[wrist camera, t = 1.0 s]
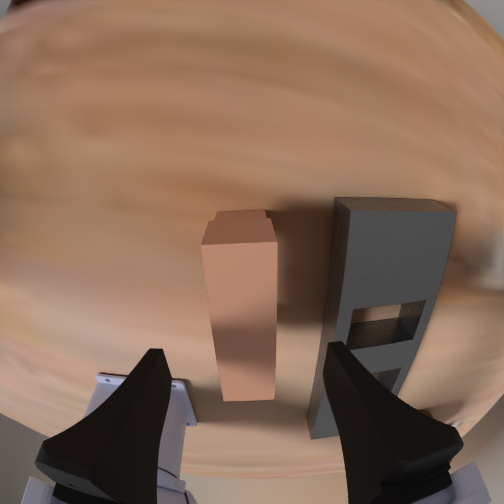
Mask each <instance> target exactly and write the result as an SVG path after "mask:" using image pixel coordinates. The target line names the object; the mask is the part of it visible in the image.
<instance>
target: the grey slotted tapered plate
mask: <svg viewBox="0 0 504 504" xmlns="http://www.w3.org/2000/svg"><path fill="white" fill-rule="evenodd" d="M456 214H457V212H455V211H454V210H452V209H450V208H448V207H446V206H444V205H442V204H440V203H438V202H436V201H434V200H429V199H406V198H368V197H335V201H334V218H333V233H332V246H331V257H330V268H329V278H328V287H327V296H326V304H325V312H324V320H323V327H322V334H321V341H320V348H319V354H318V360H317V366H316V372H315V378H314V383H313V389H312V394H311V399H310V404H309V409H308V414H307V422H308V427H309V432H310V438H311V440H312V439H319V438H326V437H332V436H338V435H339V432H338V429H337V426H336V422H335V419H334V416H333V413H332V410H331V407H330V404H329V400H328V397H327V394H326V390H325V385H324V379H323V374H322V373H323V368H324V362H325V357H326V352H327V346H328V342H336V341H342V342H343V343H344V344H345V345H346V347H347V348H348V349H349V350H350V351H351V352H352V354H353V355H354V356H355V357H356V358H357V359H358V360H359V361H360V363H361V364H362V365H363V366H364V367H365V368H366V369H367V370H368V371H369V372H370V373H373V374H372V375H373V376H374V377H375V378H376V379H377V380H378V381H379V382H380V383H381V384H382V385H384V386H385V387H386V388H387V389H388V390H389V391H391V392H392V393H393V394H394V395H396V396H397V394H398V392H399V390H400V388H401V386H402V384H403V382H404V380H405V378H406V376H407V373H408V371H409V369H410V367H411V365H412V362H413V360H414V358H415V355H416V353H417V350H418V348H419V345H420V343H421V340H422V338H423V335H424V333H425V330H426V327H427V324H428V322H429V319H430V316H431V313H432V310H433V307H434V304H435V301H436V298H437V294H438V291H439V288H440V284H441V281H442V277H443V273H444V270H445V266H446V262H447V258H448V254H449V249H450V245H451V240H452V235H453V230H454V225H455V220H456ZM401 303H402V306H401V310H400V313H399V317H398V318H393V319H386V320H379V321H372V322H364V323H356V324H351V319H352V313H353V309H360V308H369V307H377V306H385V305H393V304H401ZM376 372H378V373H376Z"/></svg>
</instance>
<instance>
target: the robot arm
mask: <svg viewBox="0 0 504 504" xmlns="http://www.w3.org/2000/svg"><path fill="white" fill-rule="evenodd" d="M322 374H323V379H324V385H325V390H326V394H327V397H328V400H329V404H330V407H331V410H332V413H333V416H334V419H335V422H336V426H337V429H338V432H339V436H340V440H341V445H342V451H343V457H344V463H345V470H346V478H347V488H348V502H349V504H488V503H490V502H491V498H490V495H489V493H488V490H487V488H486V485H485V483H484V481H483V478H482V476H481V474H480V471H479V469H478V467H477V465H476V462H472V463H470V464H469V465H467V466H465V467H463V468H461V469H459V470H457V471H455V472H454V473H452V474H451V475H450V474H449V472H448V470H449V469H450V468H451V466H450V464H449V461H450V460H451V459H452V458H453V457H454V456H455V455H456V454H457V453H458V452H459V451H460V450H461V449H462V447H463V445H464V444H463V441H462V439H461V437H460V435H459V433H458V431H457V429H456V428H455V427H453V426H450V425H447V424H445V423H442V422H440V421H437V420H435V419H433V418H431V417H429V416H427V415H425V414H423V413H421V412H420V411H418V410H416V409H415V408H413V407H411V406H410V405H408V404H407V403H405V402H404V401H402V400H401V399H400V398H398V397H397V396H396V395H394V394H393V393H392V392H391V391H389V390H388V389H387V388H386V387H385V386H384V385H382V384H381V383H380V382H379V381H378V380H377V379H376V378H375V377H374V376H373V375H372V374H371V373H370V372H369V371H368V370H367V369H366V368H365V367H364V366H363V365H362V364H361V363H360V361H359V360H358V359H357V358H356V357H355V356H354V355H353V354H352V352H351V351H350V350H349V349H348V348H347V347H346V345H345V344H344V343H343V342H342V341H336V342H328V346H327V352H326V357H325V362H324V368H323V373H322ZM95 378H96V380H97V382H98V383H97V386H96V388H95V390H94V393H93V395H92V397H91V400H90V402H89V405H88V407H87V410H86V412H85V415H84V417H83V419H82V420H81V421H79V422H78V423H76V424H75V425H73V426H72V427H70V428H68V429H67V430H65V431H63V432H61V433H59V434H57V435H55V436H53V437H51V438H49V439H47V440H45V441H43V443H42V445H41V448H40V450H39V453H38V455H37V458H36V461H35V465H36V466H37V468H38V469H39V470H40V471H41V472H43V473H44V474H45V475H47V476H48V477H49V478H51V479H52V480H53V481H55V482H56V485H55V487H53V486H51V485H49V484H47V483H45V482H43V481H41V480H38V479H36V478H34V477H32V476H30V478H29V481H28V484H27V487H26V490H25V493H24V496H23V499H22V502H21V504H197V502H196V500H195V499H194V497H193V495H192V494H191V492H190V491H188V490H185V484H186V482H185V481H183V480H180V479H179V477H180V468H181V460H182V452H183V444H184V436H185V428H186V426H197V420H196V417H195V414H194V411H193V408H192V405H191V402H190V399H189V396H188V393H187V389H186V386H185V383H184V382H183V381H180V380H172V376H171V373H170V370H169V367H168V364H167V361H166V358H165V355H164V351H163V349H154V348H150V349H149V350H148V351H147V352H146V354H145V355H144V356H143V357H142V359H141V360H140V361H139V363H138V364H137V365H136V366H135V368H134V369H133V370H132V371H131V373H130V374H129V375H128V376H127V377H123V376H114V375H105V374H96V377H95Z"/></svg>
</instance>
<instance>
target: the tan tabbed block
mask: <svg viewBox="0 0 504 504" xmlns="http://www.w3.org/2000/svg"><path fill="white" fill-rule="evenodd" d="M201 250H202V259H203V267H204V276H205V284H206V291H207V299H208V306H209V314H210V321H211V327H212V334H213V341H214V347H215V354H216V360H217V366H218V372H219V378H220V384H221V389H222V395H223V400H224V401H253V400H271V399H274V396H275V367H276V329H277V250H278V242H277V238H276V235H275V232H274V228H273V225H272V222H271V218H267V217H266V213H265V210H251V211H229V212H217V213H216V216H215V220H214V221H209V222H208V225H207V228H206V231H205V234H204V237H203V240H202V243H201Z"/></svg>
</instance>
